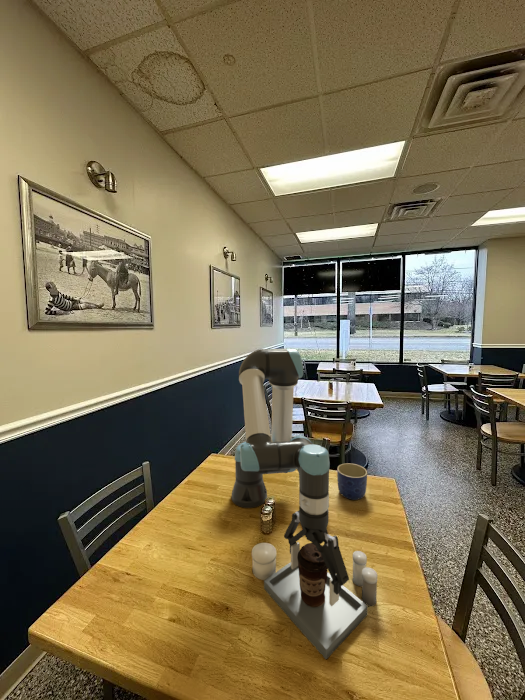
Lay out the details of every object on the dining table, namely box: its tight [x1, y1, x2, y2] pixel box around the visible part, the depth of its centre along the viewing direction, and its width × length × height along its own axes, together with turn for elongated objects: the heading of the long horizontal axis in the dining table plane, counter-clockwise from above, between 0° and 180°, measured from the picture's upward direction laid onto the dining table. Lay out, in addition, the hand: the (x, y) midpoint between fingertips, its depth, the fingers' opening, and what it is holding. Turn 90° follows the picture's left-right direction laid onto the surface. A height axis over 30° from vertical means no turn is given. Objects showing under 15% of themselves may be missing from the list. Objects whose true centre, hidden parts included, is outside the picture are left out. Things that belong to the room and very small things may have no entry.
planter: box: [336, 462, 368, 501], centre depth 125 cm, size 12×12×11 cm
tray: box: [263, 561, 369, 660], centre depth 77 cm, size 22×16×2 cm
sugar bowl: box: [251, 542, 277, 581], centre depth 87 cm, size 7×7×6 cm
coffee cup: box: [297, 542, 328, 607], centre depth 77 cm, size 9×8×13 cm
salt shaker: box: [352, 550, 368, 587], centre depth 83 cm, size 4×4×8 cm
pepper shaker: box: [361, 566, 378, 607], centre depth 77 cm, size 4×4×8 cm
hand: (313, 583), depth 77 cm, fingers open, 13 cm apart
